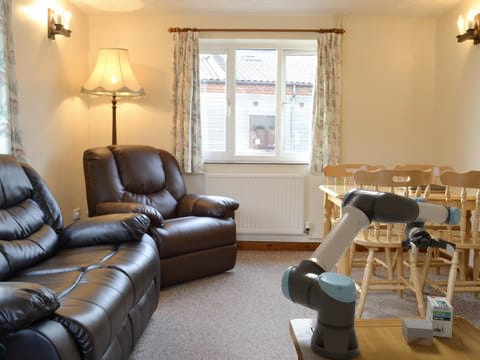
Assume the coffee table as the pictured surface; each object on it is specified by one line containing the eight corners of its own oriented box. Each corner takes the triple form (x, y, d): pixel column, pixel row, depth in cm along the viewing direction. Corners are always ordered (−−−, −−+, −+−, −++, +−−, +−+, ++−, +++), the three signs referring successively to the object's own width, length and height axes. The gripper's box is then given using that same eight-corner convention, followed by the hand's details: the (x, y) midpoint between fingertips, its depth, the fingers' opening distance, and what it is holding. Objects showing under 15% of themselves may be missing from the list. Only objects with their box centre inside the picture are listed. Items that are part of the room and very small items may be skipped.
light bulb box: (452, 338, 154) (454, 307, 153) (431, 336, 155) (433, 305, 154) (444, 325, 164) (446, 296, 163) (424, 323, 165) (426, 295, 164)
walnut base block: (407, 345, 149) (407, 336, 148) (402, 334, 157) (402, 326, 156) (432, 347, 148) (433, 338, 147) (426, 336, 155) (426, 328, 155)
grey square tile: (406, 336, 148) (407, 327, 148) (401, 326, 156) (402, 317, 156) (432, 338, 147) (433, 329, 147) (426, 328, 155) (426, 319, 155)
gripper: (450, 248, 188) (468, 262, 167) (388, 244, 192) (398, 258, 171) (452, 230, 187) (469, 242, 167) (389, 227, 191) (399, 239, 170)
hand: (433, 250), depth 169 cm, fingers open, 13 cm apart
